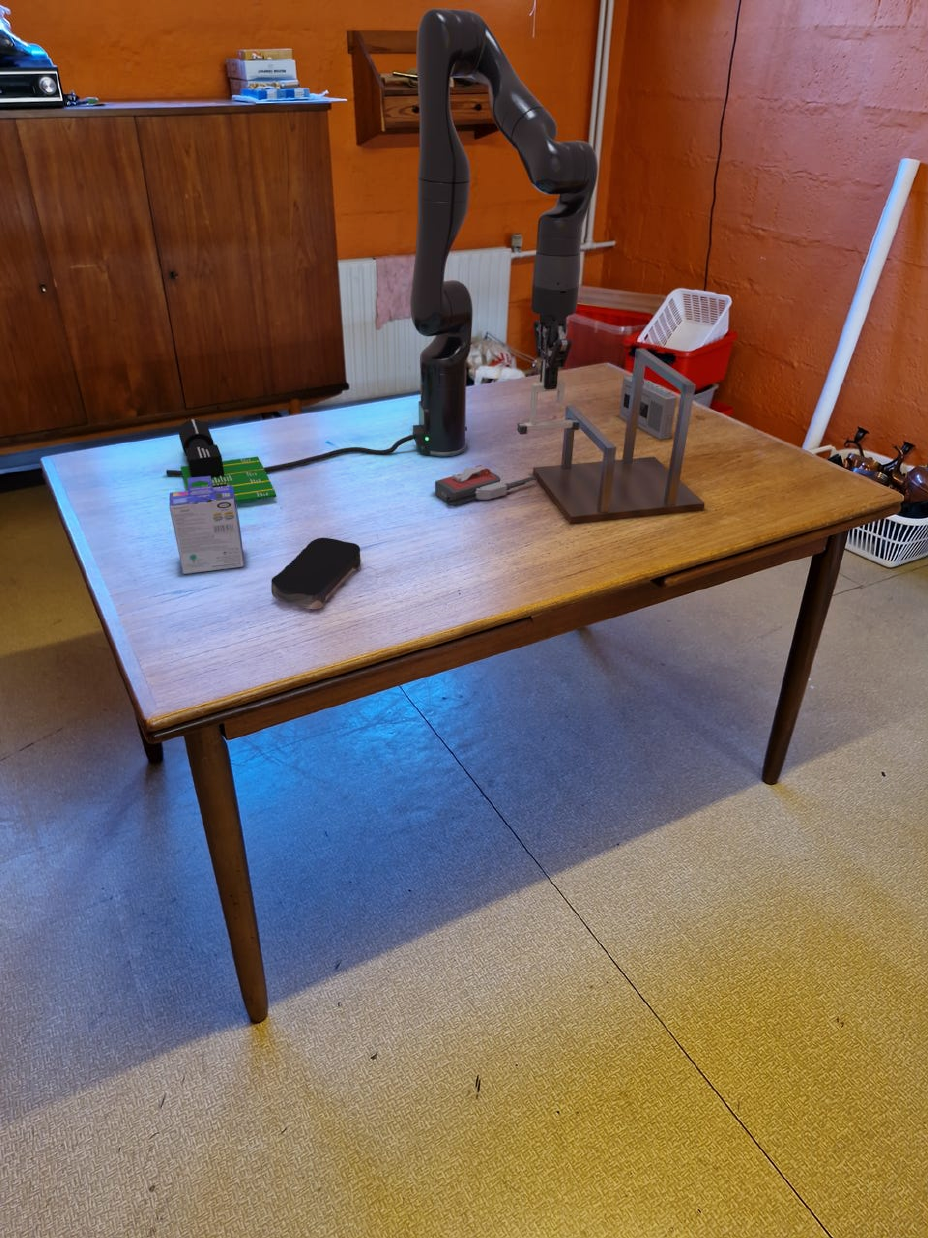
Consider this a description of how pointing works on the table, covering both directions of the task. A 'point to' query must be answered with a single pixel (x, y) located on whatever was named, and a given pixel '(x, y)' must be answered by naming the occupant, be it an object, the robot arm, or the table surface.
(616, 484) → the rack
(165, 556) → the table surface
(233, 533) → the ink cartridge box
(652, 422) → the cassette player
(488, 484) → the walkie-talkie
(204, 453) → the electronic board model
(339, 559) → the black sponge
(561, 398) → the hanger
